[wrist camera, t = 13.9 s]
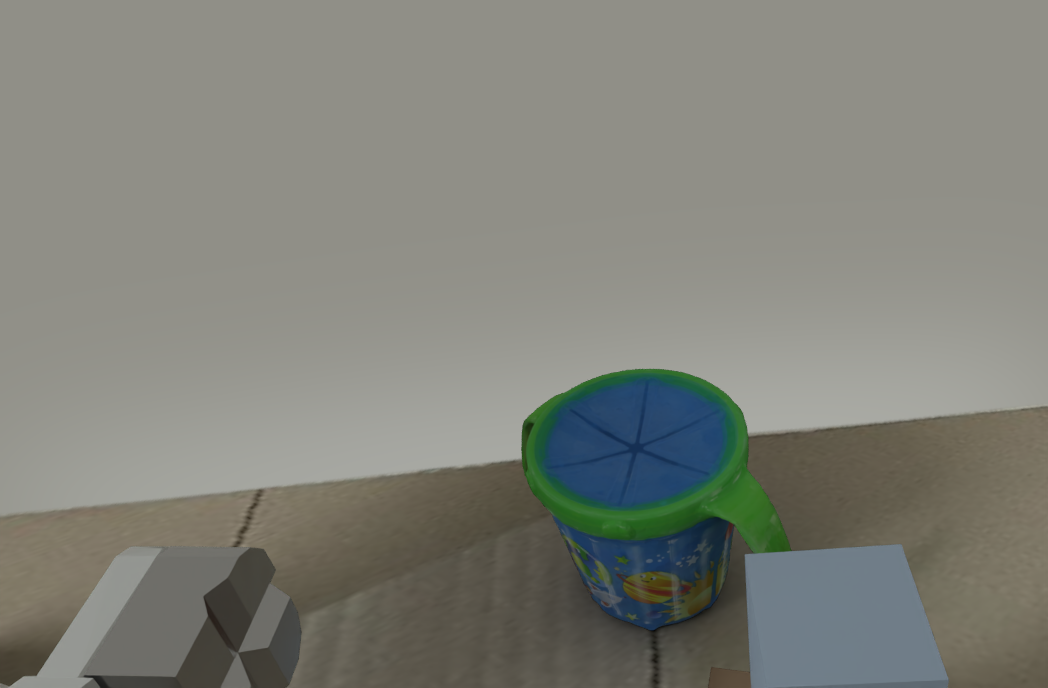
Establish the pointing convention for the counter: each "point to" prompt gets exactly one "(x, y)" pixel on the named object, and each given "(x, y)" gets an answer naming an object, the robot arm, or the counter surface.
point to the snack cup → (649, 490)
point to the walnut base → (729, 678)
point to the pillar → (838, 621)
